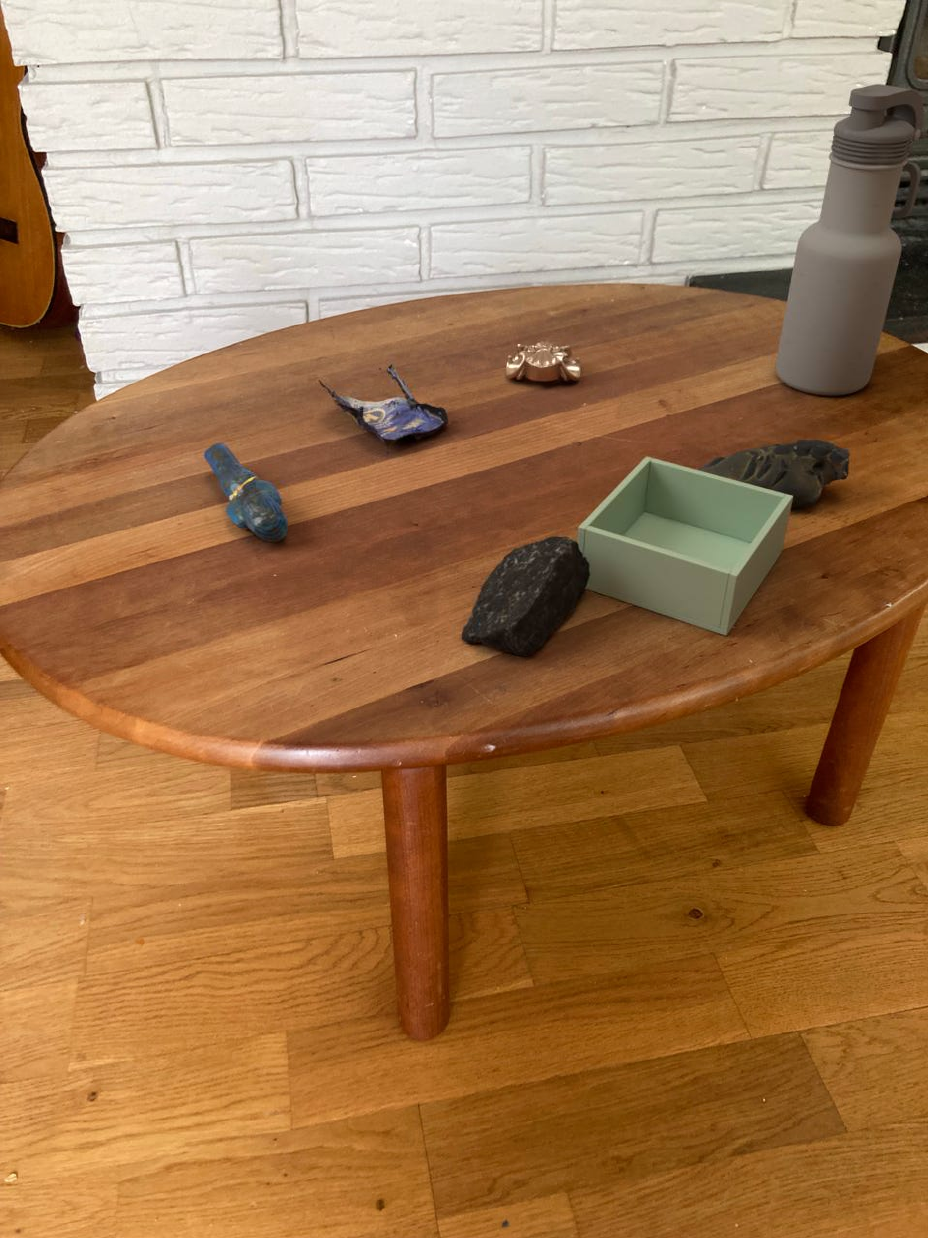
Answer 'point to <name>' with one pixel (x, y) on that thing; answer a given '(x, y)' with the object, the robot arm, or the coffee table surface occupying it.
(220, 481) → the blue long piece
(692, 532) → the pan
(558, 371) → the ornament
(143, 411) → the coffee table surface
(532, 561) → the rock
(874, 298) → the water bottle
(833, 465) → the stone
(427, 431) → the snack package
